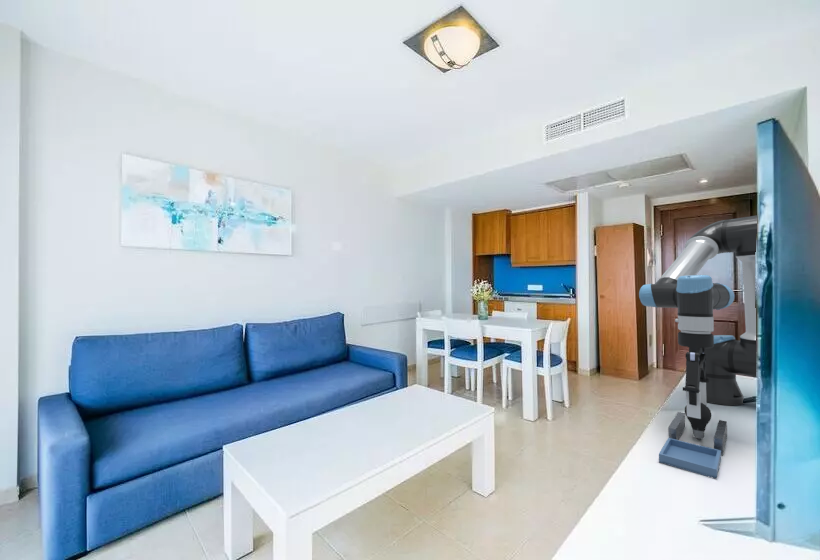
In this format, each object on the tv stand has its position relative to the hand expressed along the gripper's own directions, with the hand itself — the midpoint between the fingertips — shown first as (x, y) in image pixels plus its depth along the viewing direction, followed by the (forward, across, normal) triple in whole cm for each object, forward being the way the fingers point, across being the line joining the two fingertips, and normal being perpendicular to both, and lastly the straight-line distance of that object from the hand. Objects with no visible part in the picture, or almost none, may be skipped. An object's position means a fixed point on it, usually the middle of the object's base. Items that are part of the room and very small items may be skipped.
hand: (697, 411), depth 93 cm
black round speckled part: (+8, 0, 0) cm, 8 cm away
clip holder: (+8, 0, 0) cm, 8 cm away
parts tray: (+8, +16, 0) cm, 17 cm away
